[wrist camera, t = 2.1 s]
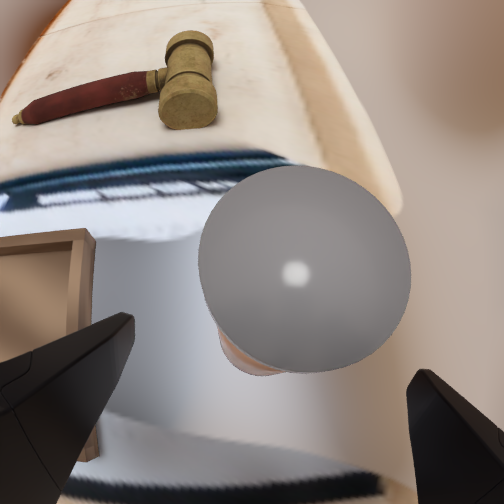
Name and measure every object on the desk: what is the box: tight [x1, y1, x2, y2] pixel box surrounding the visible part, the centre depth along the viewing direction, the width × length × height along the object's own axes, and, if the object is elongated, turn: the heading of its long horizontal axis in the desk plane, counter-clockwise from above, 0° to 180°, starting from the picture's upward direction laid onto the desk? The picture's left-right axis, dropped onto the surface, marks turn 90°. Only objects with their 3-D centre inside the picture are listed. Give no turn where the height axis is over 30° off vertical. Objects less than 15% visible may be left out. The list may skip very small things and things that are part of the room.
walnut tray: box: [0, 228, 99, 462], centre depth 16 cm, size 14×13×2 cm
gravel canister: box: [198, 166, 411, 376], centre depth 13 cm, size 5×5×12 cm
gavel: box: [12, 31, 218, 130], centre depth 24 cm, size 21×5×10 cm
